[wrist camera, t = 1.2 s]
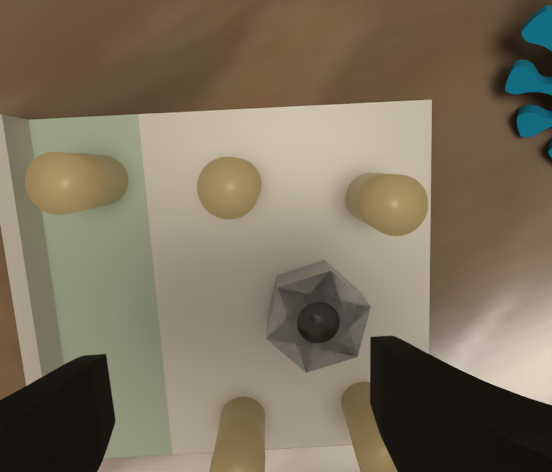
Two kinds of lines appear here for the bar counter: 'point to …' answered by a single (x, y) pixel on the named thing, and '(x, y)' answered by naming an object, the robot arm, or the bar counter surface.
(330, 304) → the nut
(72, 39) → the bar counter surface
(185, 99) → the bar counter surface
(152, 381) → the tray
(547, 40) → the gear
